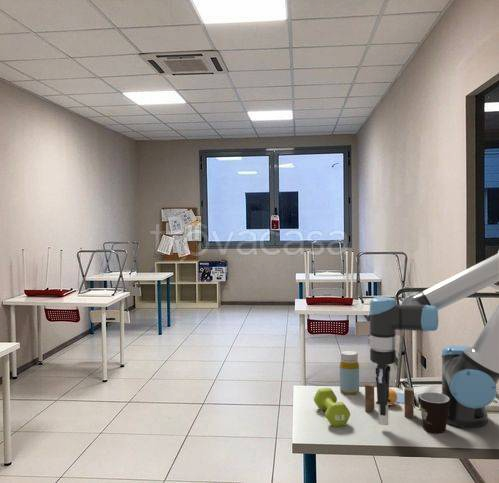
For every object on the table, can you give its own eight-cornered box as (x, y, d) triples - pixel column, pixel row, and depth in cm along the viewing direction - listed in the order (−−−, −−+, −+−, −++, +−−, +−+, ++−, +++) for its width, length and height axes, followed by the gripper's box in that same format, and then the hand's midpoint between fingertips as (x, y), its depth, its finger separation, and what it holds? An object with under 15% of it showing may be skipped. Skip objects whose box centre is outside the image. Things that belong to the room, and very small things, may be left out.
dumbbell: (351, 426, 153) (351, 404, 153) (327, 429, 152) (326, 406, 152) (335, 406, 169) (334, 385, 169) (312, 408, 168) (312, 387, 168)
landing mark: (408, 394, 177) (408, 393, 177) (406, 403, 169) (406, 403, 169) (383, 391, 181) (383, 390, 181) (379, 400, 173) (379, 400, 173)
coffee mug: (452, 436, 145) (452, 403, 144) (421, 435, 146) (421, 402, 146) (444, 419, 156) (444, 389, 155) (415, 418, 158) (415, 388, 157)
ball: (396, 407, 165) (398, 402, 171) (396, 391, 165) (397, 386, 170) (380, 406, 167) (381, 401, 173) (379, 390, 167) (381, 385, 172)
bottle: (351, 397, 176) (350, 356, 175) (336, 391, 182) (335, 352, 181) (363, 392, 181) (362, 352, 180) (348, 387, 186) (347, 348, 185)
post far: (374, 409, 165) (374, 383, 165) (373, 412, 163) (372, 386, 162) (366, 408, 166) (366, 382, 166) (365, 411, 164) (365, 385, 163)
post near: (413, 414, 160) (413, 387, 160) (412, 417, 158) (412, 390, 157) (405, 413, 161) (405, 386, 161) (404, 416, 159) (404, 389, 158)
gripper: (373, 341, 156) (374, 413, 158) (366, 353, 144) (367, 431, 146) (398, 343, 153) (398, 417, 155) (392, 355, 141) (393, 435, 143)
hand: (383, 423), depth 150 cm, fingers closed
